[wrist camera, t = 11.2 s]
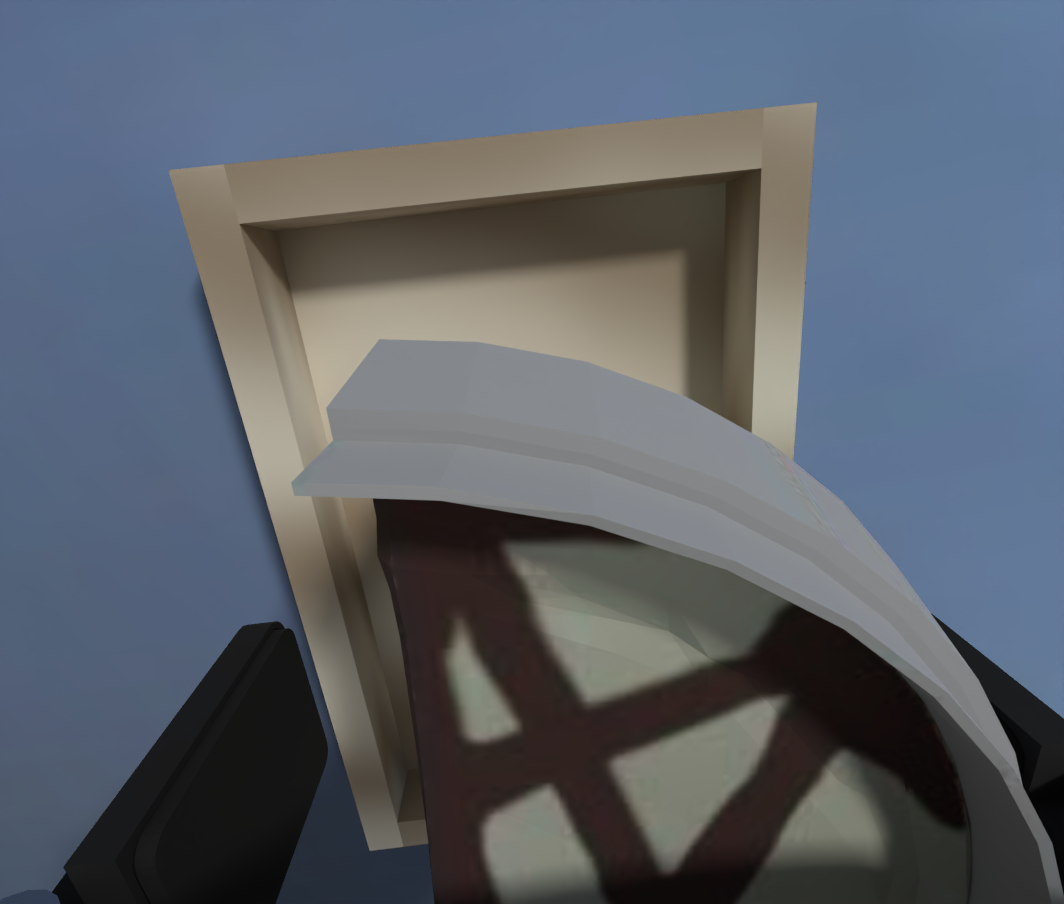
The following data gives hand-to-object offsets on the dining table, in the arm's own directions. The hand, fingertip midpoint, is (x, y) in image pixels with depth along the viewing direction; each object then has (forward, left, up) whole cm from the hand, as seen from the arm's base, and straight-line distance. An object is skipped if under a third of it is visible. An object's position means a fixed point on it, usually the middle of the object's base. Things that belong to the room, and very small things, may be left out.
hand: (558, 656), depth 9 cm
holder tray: (0, 0, -6) cm, 6 cm away
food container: (0, -2, -5) cm, 5 cm away
